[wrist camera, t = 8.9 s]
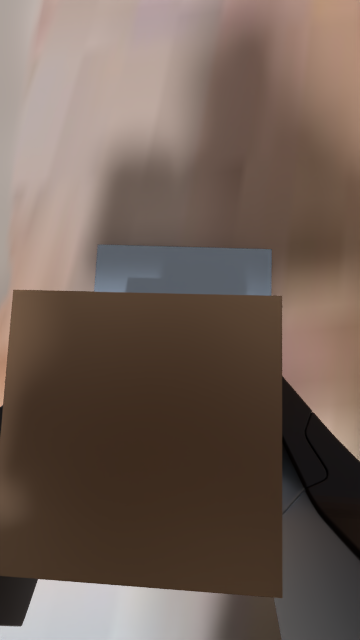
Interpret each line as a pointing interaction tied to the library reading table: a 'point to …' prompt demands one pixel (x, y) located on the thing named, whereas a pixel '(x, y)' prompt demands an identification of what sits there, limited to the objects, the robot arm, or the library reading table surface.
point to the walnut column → (144, 441)
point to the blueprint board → (183, 270)
